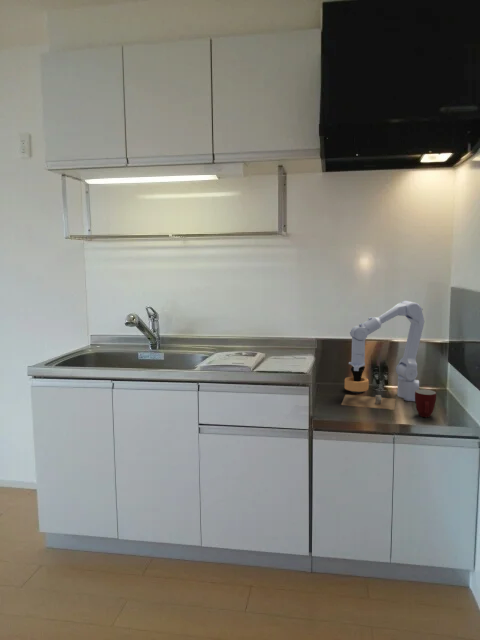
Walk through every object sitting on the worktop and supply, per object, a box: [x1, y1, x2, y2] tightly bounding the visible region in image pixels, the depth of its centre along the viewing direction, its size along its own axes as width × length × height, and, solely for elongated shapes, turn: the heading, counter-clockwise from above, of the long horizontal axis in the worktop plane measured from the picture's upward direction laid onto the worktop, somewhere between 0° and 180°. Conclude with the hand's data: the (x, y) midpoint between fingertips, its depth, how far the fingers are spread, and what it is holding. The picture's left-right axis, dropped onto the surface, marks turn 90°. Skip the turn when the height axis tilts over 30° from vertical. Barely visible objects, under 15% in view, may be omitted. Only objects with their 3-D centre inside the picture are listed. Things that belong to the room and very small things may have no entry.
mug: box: [414, 388, 437, 418], centre depth 203 cm, size 10×8×10 cm
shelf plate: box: [340, 394, 397, 411], centre depth 220 cm, size 22×16×5 cm
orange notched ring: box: [344, 376, 370, 392], centre depth 221 cm, size 10×10×4 cm
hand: (357, 383), depth 225 cm, fingers closed on orange notched ring, 2 cm apart
